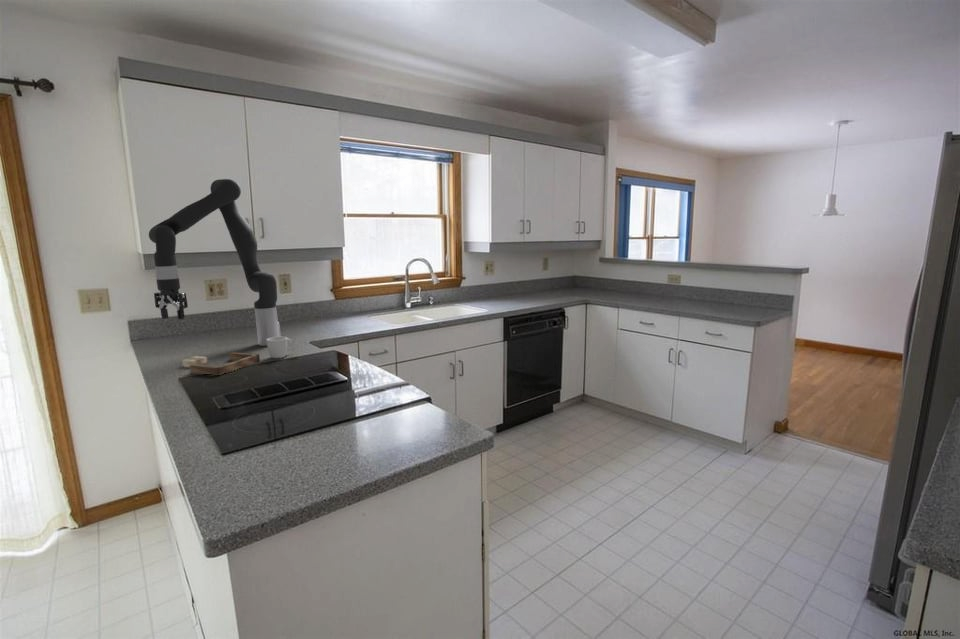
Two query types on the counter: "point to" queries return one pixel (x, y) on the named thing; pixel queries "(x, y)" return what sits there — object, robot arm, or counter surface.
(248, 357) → the wooden u-shaped bracket
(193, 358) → the maple tile
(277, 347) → the cup
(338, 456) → the counter surface
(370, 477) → the counter surface
